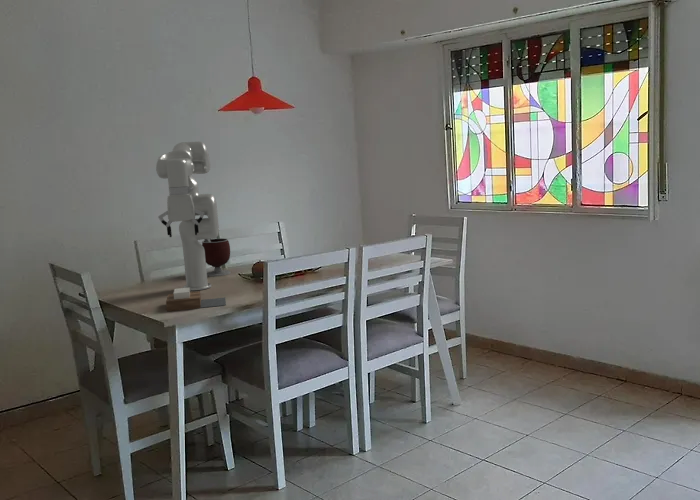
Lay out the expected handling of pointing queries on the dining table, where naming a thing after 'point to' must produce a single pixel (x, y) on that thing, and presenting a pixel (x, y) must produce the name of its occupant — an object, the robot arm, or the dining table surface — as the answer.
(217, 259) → the mate gourd
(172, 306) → the panel
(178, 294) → the tile
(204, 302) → the mat
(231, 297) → the dining table surface
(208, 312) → the dining table surface
